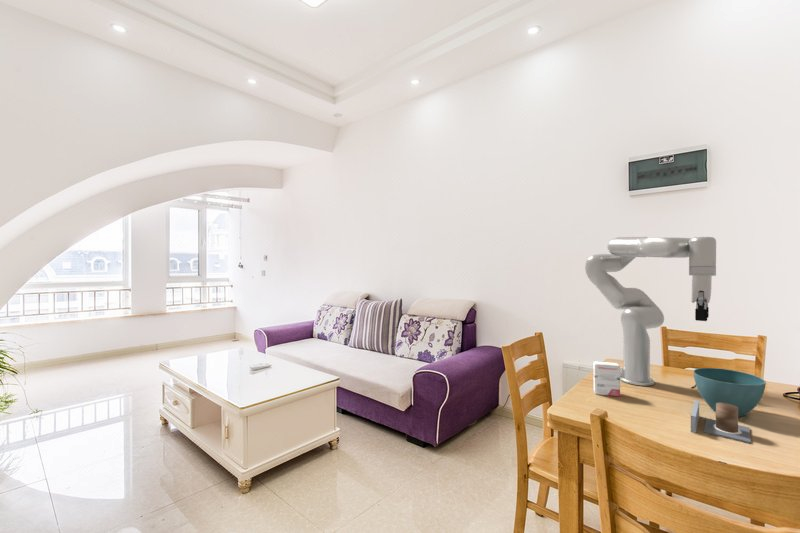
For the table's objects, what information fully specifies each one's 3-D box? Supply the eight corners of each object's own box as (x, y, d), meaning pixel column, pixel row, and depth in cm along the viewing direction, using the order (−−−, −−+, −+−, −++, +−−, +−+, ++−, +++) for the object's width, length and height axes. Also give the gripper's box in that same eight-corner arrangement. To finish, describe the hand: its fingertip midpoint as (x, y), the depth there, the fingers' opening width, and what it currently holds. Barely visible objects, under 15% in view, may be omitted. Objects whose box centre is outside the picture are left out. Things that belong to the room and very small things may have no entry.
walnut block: (715, 429, 110) (715, 406, 110) (716, 423, 114) (716, 401, 114) (738, 434, 107) (738, 410, 107) (738, 428, 111) (738, 405, 111)
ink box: (617, 392, 143) (617, 362, 143) (620, 397, 138) (620, 365, 138) (592, 390, 146) (592, 360, 146) (595, 394, 141) (595, 363, 141)
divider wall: (690, 431, 110) (690, 415, 110) (694, 415, 122) (694, 400, 122) (695, 433, 109) (695, 416, 109) (699, 416, 121) (699, 400, 121)
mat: (704, 432, 109) (704, 430, 109) (706, 419, 118) (706, 417, 118) (750, 443, 103) (750, 441, 103) (749, 429, 112) (749, 427, 112)
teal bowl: (773, 428, 112) (774, 388, 112) (697, 415, 122) (697, 378, 121) (756, 407, 127) (756, 372, 127) (689, 397, 137) (689, 365, 137)
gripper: (690, 270, 140) (690, 315, 141) (686, 272, 128) (686, 321, 128) (716, 270, 135) (716, 317, 136) (715, 272, 122) (714, 323, 123)
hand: (702, 318), depth 132 cm, fingers open, 9 cm apart
